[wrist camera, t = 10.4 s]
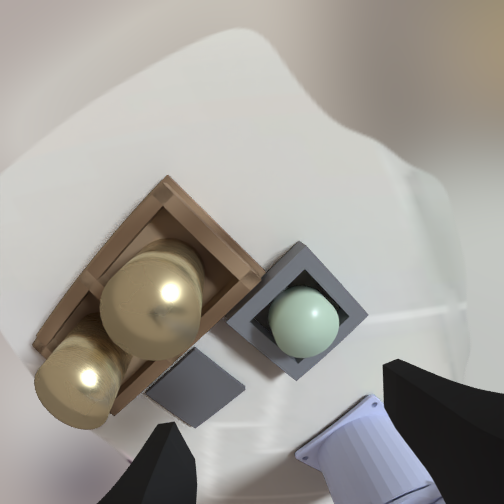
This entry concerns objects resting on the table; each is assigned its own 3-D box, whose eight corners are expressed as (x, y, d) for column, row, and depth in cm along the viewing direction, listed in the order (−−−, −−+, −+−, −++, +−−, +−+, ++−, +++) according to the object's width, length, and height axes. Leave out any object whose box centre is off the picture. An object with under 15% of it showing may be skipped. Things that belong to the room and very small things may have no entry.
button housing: (358, 306, 20) (368, 314, 18) (291, 368, 20) (296, 381, 19) (299, 240, 19) (306, 245, 17) (225, 312, 19) (226, 322, 18)
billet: (117, 379, 19) (90, 440, 13) (67, 343, 18) (26, 396, 12) (146, 338, 18) (122, 399, 12) (92, 299, 17) (47, 347, 11)
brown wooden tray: (264, 270, 19) (269, 279, 17) (122, 403, 20) (115, 420, 18) (168, 175, 17) (162, 174, 15) (39, 331, 18) (26, 344, 16)
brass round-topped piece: (219, 273, 18) (222, 315, 12) (172, 320, 18) (156, 377, 12) (167, 222, 17) (142, 241, 11) (120, 273, 17) (81, 313, 11)
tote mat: (244, 386, 20) (245, 389, 20) (195, 424, 21) (195, 428, 20) (195, 346, 19) (194, 349, 19) (146, 390, 20) (145, 393, 19)
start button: (338, 312, 19) (351, 325, 17) (295, 352, 19) (303, 369, 17) (301, 272, 18) (310, 283, 16) (255, 316, 18) (259, 331, 16)
